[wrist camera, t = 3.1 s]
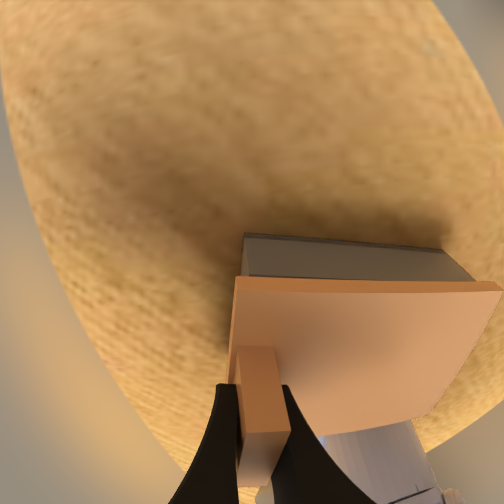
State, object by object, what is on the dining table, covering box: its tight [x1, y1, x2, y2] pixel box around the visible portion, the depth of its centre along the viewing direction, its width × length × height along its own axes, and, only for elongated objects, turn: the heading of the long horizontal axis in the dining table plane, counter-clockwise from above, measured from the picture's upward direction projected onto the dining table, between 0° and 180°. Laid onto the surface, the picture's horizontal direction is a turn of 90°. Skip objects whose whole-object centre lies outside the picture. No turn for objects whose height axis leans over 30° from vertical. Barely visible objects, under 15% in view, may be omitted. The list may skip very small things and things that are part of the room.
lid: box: [226, 276, 504, 487], centre depth 11 cm, size 9×12×5 cm
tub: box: [240, 233, 477, 282], centre depth 15 cm, size 8×11×4 cm
